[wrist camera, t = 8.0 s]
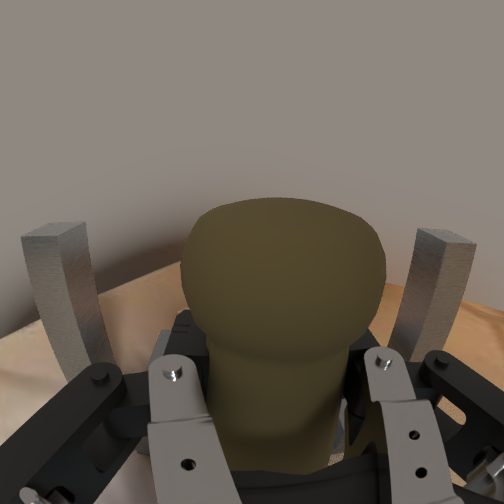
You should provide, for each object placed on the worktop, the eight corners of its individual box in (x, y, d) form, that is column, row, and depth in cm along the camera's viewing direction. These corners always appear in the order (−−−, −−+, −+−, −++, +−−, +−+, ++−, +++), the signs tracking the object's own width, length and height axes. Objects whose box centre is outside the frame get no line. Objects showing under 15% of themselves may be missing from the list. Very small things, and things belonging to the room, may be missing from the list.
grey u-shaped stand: (440, 422, 13) (516, 264, 9) (58, 430, 11) (-22, 258, 7) (388, 345, 22) (420, 218, 18) (103, 346, 21) (76, 211, 17)
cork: (306, 522, 6) (447, 260, 3) (173, 472, 8) (101, 212, 5) (340, 423, 11) (399, 204, 8) (234, 394, 14) (234, 186, 10)
